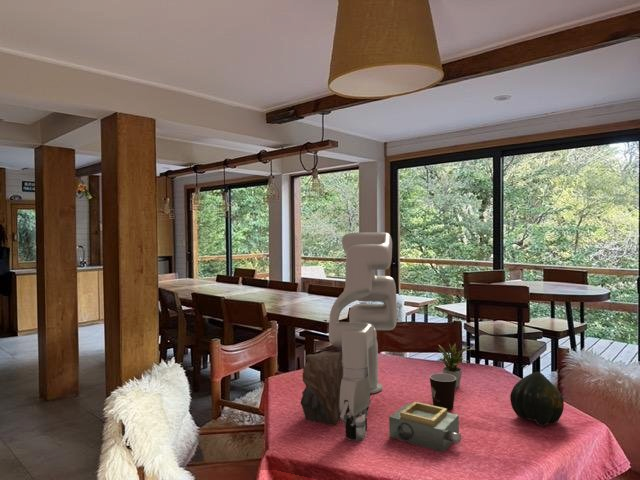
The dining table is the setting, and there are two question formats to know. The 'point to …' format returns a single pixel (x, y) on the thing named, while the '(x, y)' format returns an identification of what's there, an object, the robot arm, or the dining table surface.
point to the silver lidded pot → (359, 426)
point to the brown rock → (322, 387)
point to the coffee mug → (443, 390)
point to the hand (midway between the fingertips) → (356, 433)
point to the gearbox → (425, 426)
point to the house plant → (453, 362)
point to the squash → (537, 399)
